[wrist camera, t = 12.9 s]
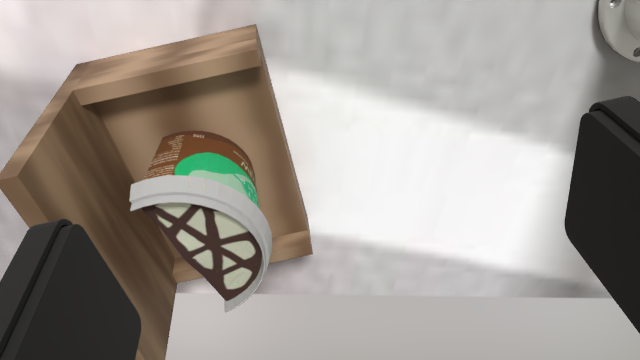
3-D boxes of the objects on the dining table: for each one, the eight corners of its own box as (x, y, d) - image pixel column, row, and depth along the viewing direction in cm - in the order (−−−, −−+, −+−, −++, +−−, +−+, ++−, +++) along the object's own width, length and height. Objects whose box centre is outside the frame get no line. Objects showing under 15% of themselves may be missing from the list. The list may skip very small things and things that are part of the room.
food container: (293, 201, 44) (303, 287, 36) (232, 227, 45) (229, 316, 37) (221, 89, 37) (213, 164, 29) (151, 122, 38) (124, 204, 30)
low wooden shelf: (255, 24, 37) (257, 123, 25) (307, 218, 49) (325, 347, 37) (76, 64, 38) (-6, 180, 26) (171, 247, 50) (146, 385, 38)
